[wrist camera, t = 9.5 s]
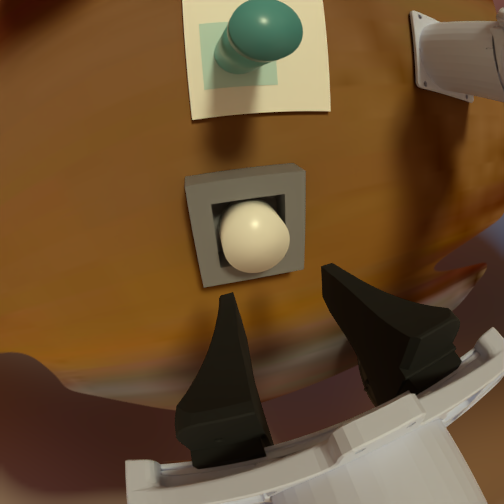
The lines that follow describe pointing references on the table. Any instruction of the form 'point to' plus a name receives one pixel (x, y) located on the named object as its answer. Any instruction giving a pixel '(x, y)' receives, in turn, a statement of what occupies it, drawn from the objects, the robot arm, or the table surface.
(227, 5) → the paper sheet
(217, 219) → the button box
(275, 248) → the button
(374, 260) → the table surface
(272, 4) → the teal marker
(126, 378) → the table surface
